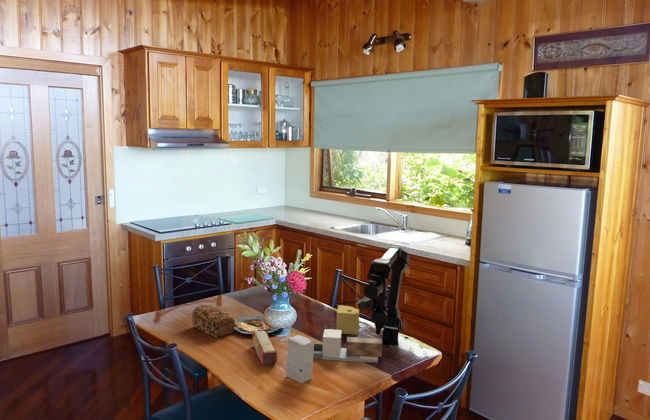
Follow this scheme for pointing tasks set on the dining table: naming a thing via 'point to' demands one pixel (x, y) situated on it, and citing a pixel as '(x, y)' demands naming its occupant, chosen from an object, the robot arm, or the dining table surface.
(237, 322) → the food plate
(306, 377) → the skincare box
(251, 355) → the dining table surface
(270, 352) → the snack package
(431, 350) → the dining table surface
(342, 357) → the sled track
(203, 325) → the bread
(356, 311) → the cheese
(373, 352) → the walnut block
